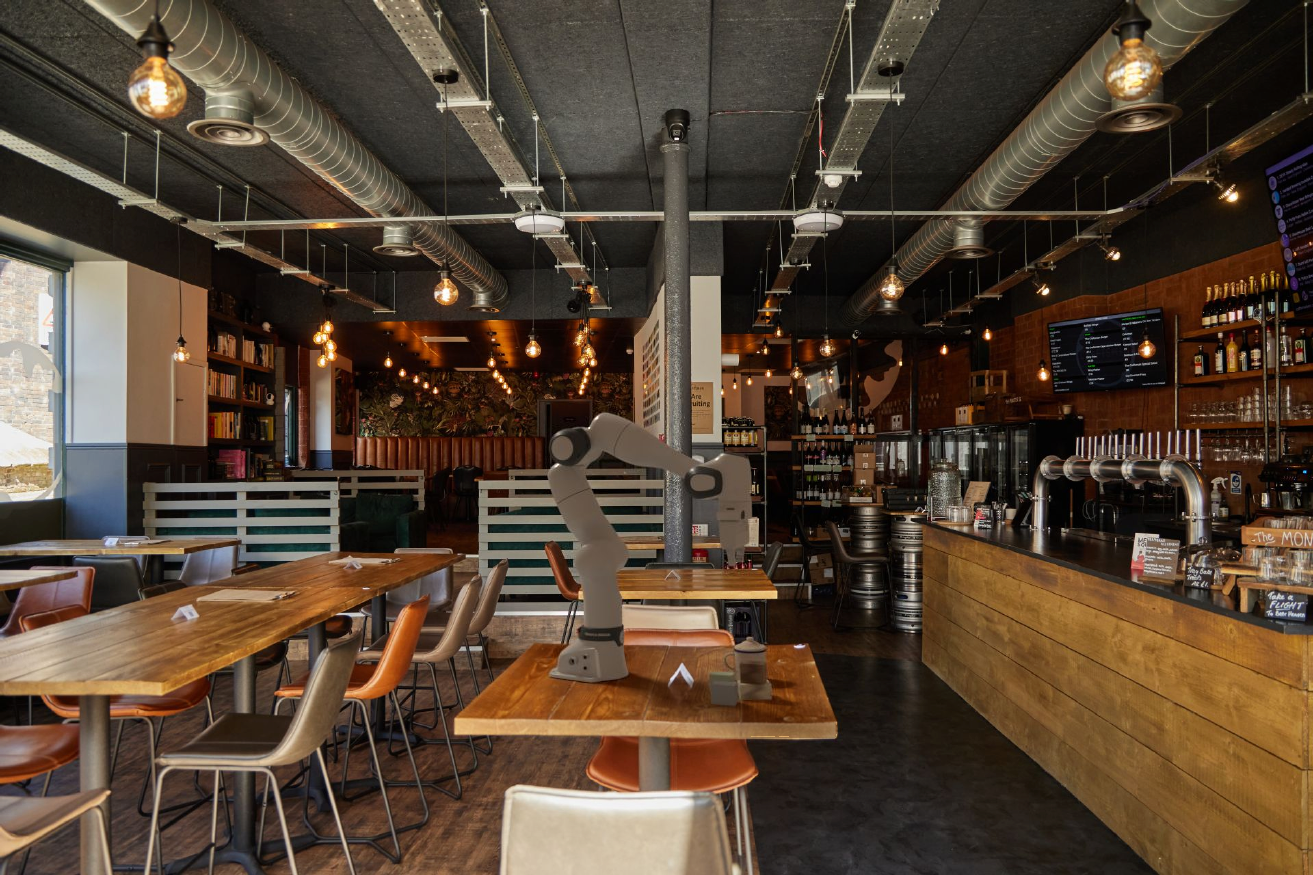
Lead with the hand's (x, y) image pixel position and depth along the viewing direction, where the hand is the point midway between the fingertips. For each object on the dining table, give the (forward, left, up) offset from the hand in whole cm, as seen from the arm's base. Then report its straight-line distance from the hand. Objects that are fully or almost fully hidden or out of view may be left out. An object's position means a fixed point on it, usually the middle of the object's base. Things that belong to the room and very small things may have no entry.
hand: (736, 563), depth 230 cm
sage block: (-3, -5, -33) cm, 34 cm away
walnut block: (+6, -7, -29) cm, 31 cm away
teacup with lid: (0, +10, -33) cm, 35 cm away
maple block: (+6, -7, -33) cm, 35 cm away
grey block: (0, -15, -33) cm, 36 cm away
